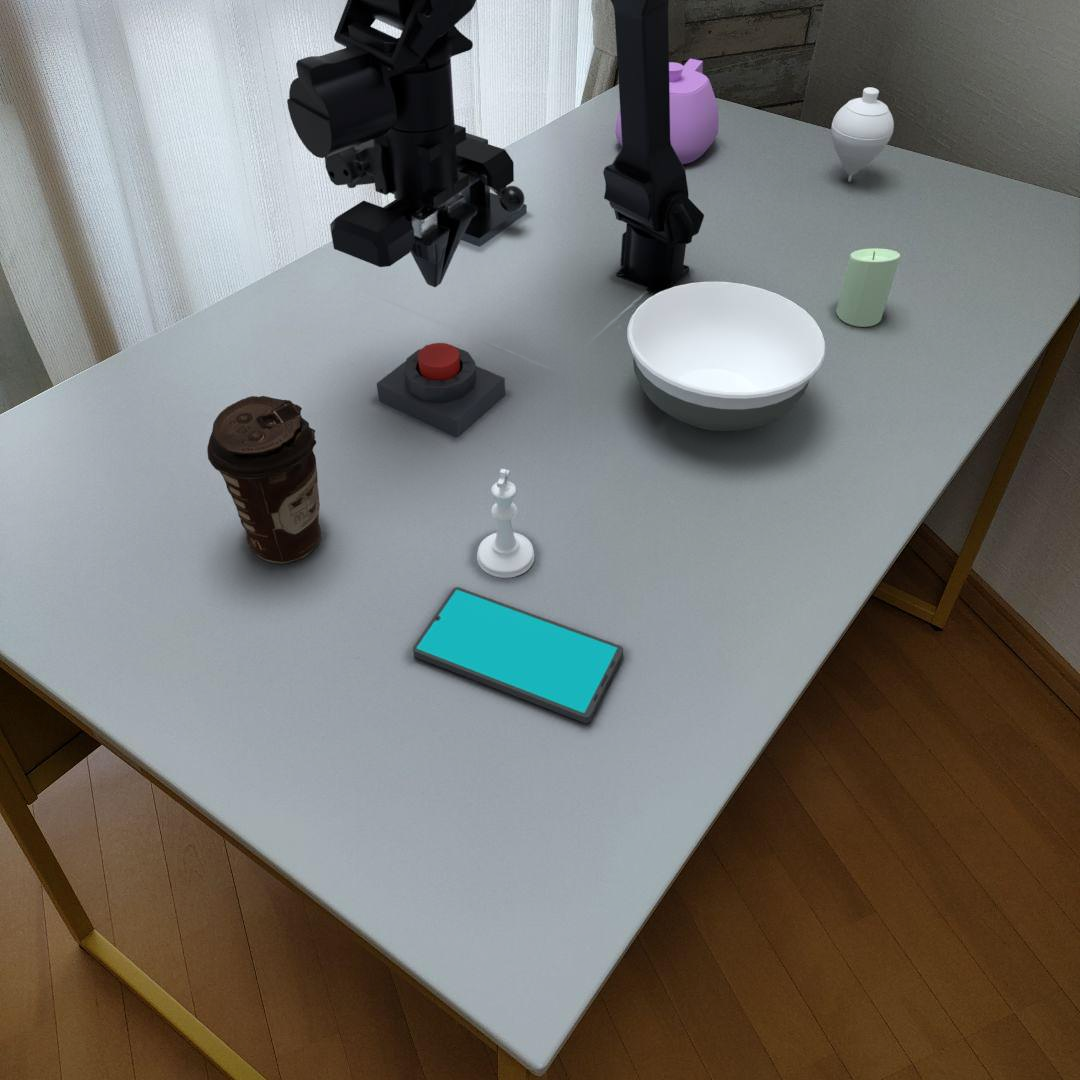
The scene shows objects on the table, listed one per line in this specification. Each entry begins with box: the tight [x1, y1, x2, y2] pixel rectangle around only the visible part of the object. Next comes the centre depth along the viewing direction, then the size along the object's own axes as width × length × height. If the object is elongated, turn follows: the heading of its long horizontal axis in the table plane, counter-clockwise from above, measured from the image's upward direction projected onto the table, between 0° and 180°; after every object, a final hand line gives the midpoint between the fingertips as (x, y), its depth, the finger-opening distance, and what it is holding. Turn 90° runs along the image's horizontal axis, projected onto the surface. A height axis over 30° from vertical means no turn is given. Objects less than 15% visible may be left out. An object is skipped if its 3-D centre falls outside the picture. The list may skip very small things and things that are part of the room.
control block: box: [376, 344, 506, 438], centre depth 99 cm, size 10×8×4 cm
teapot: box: [614, 58, 719, 165], centre depth 135 cm, size 13×20×11 cm
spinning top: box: [830, 86, 895, 182], centre depth 128 cm, size 8×8×12 cm
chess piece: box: [476, 468, 535, 579], centre depth 82 cm, size 5×5×10 cm
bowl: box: [626, 281, 826, 432], centre depth 97 cm, size 19×19×8 cm
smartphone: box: [412, 587, 624, 724], centre depth 78 cm, size 7×1×15 cm
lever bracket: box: [460, 132, 528, 248], centre depth 122 cm, size 12×10×10 cm
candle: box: [835, 247, 901, 328], centre depth 108 cm, size 5×5×8 cm
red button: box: [418, 342, 460, 380], centre depth 97 cm, size 4×4×2 cm
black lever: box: [478, 175, 525, 212], centre depth 119 cm, size 11×3×3 cm, turn 56°
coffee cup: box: [206, 395, 322, 564], centre depth 82 cm, size 9×8×13 cm
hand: (433, 284), depth 93 cm, fingers closed
